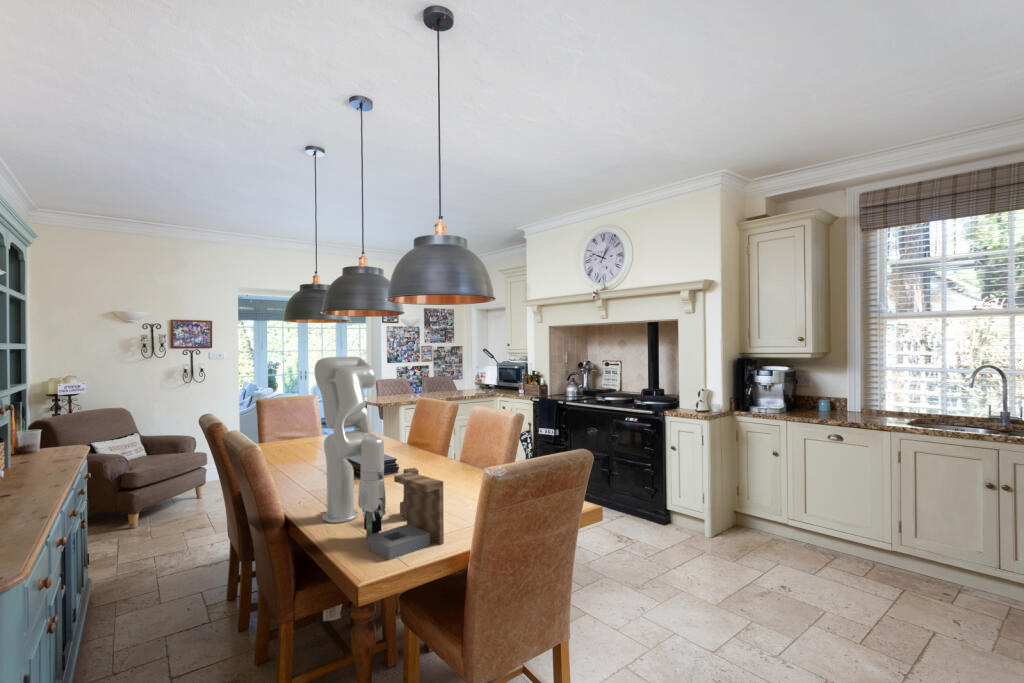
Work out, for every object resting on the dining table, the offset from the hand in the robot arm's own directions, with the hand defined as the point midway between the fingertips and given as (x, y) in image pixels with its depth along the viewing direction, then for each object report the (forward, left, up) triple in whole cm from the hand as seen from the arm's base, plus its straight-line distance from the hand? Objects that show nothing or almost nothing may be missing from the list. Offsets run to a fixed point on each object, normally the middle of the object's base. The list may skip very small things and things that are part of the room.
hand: (372, 529), depth 169 cm
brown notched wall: (+12, +10, -3) cm, 16 cm away
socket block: (+13, +2, -3) cm, 13 cm away
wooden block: (-9, +21, -3) cm, 23 cm away
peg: (0, 0, -3) cm, 3 cm away
